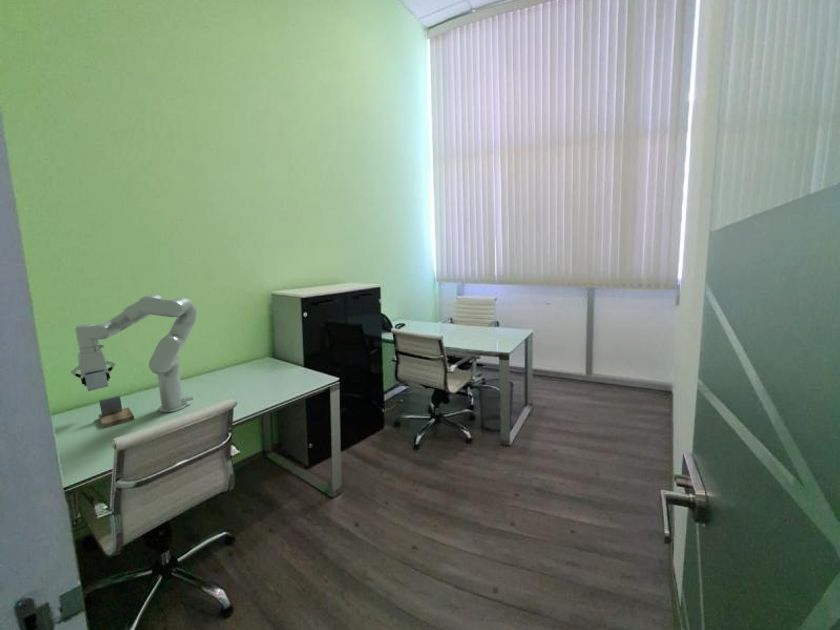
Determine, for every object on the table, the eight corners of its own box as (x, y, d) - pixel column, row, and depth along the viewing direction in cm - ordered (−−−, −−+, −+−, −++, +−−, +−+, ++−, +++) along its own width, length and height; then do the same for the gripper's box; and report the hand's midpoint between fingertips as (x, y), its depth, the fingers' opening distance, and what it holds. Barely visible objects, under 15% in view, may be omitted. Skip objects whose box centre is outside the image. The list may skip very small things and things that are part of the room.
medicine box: (107, 384, 192) (103, 368, 191) (108, 386, 189) (105, 370, 188) (86, 389, 187) (83, 373, 185) (88, 391, 184) (84, 374, 182)
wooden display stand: (128, 410, 196) (126, 392, 194) (134, 419, 186) (131, 400, 184) (99, 418, 187) (95, 399, 185) (103, 428, 178) (99, 408, 176)
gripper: (111, 344, 193) (117, 376, 196) (65, 351, 181) (72, 385, 184) (113, 346, 187) (119, 380, 191) (66, 354, 175) (73, 389, 179)
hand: (96, 382), depth 188 cm, fingers closed on medicine box, 8 cm apart
